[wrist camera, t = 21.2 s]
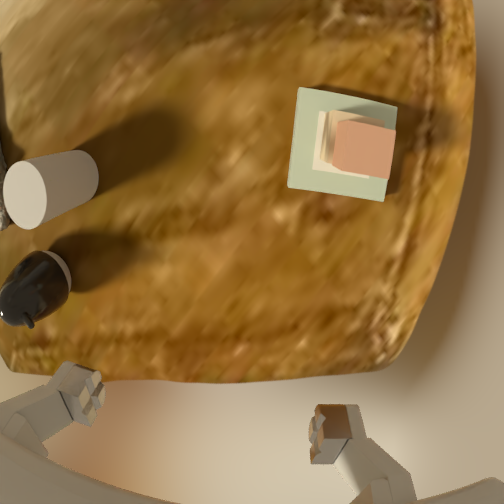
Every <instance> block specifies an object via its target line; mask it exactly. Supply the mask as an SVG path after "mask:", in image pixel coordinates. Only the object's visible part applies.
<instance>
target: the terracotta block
mask: <svg viewBox="0 0 504 504" xmlns="http://www.w3.org/2000/svg"><path fill="white" fill-rule="evenodd" d="M395 136H396V131H395V130H391V129H387V128H383V127H378V126H374V125H369V124H365V123H360V122H355V121H350V120H346V121H340V122H337V130H336V139H335V146H334V154H333V161H332V166H334V167H336V168H338V169H339V170H341V171H346V172H351V173H357V174H363V175H368V176H373V177H379V178H384V179H389V176H390V170H391V164H392V157H393V151H394V143H395Z"/></svg>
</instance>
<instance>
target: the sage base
mask: <svg viewBox="0 0 504 504" xmlns="http://www.w3.org/2000/svg"><path fill="white" fill-rule="evenodd" d="M397 108H398V107H395V106H391V105H387V104H383V103H379V102H375V101H371V100H367V99H363V98H358V97H353V96H349V95H344V94H339V93H333V92H328V91H322V90H316V89H310V88H303V87H299V89H298V94H297V103H296V113H295V122H294V131H293V139H292V148H291V156H290V165H289V173H288V181H287V185H288V188H296V189H304V190H311V191H318V192H325V193H332V194H339V195H345V196H352V197H358V198H364V199H370V200H376V201H381V202H384V197H385V192H386V186H387V181H388V179H384V178H379V177H373V176H368V175H363V174H357V173H351V172H346V171H341V170H339V169H338V168H336V167H334V166H332V164H330V163H326V162H324V161H322V160H320V152H321V144H322V135H323V127H324V118H325V113H327V112H329V111H332V110H337V111H343V112H348V113H353V114H358V115H362V116H367V117H371V118H376V119H380V120H384V121H385V125H384V128H387V129H391V130H395V126H396V117H397Z"/></svg>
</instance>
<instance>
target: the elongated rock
mask: <svg viewBox="0 0 504 504" xmlns="http://www.w3.org/2000/svg"><path fill="white" fill-rule="evenodd" d="M6 168H7V165H6V163H5V162H4V155H3V154H2V150H1V142H0V231H2V230H3V229H7V227H8V225H9V223H10V218H11V217H10V216H9V214H8V212H7V209H6V207H5V203H4V197H3V185H4V180H5V176H6Z"/></svg>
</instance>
